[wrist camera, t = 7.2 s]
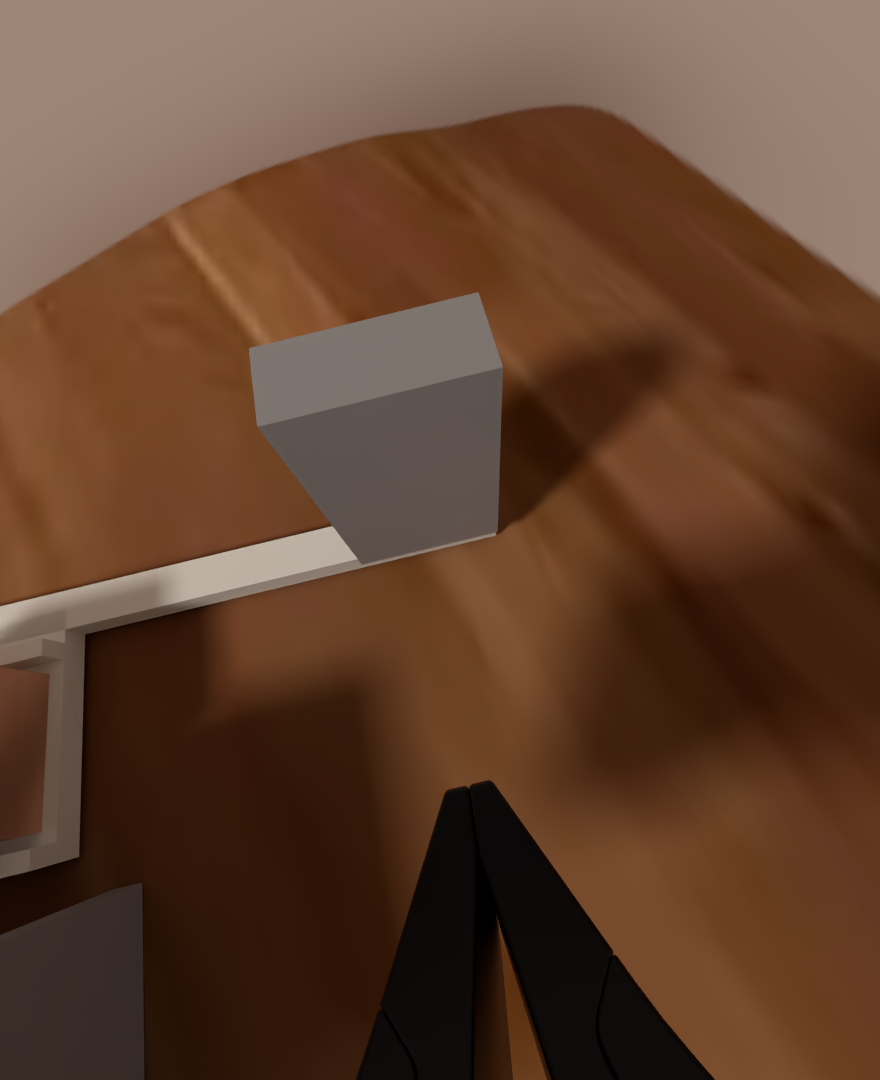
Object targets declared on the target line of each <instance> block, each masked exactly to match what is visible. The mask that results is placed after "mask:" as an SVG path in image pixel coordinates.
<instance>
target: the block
mask: <svg viewBox="0 0 880 1080" xmlns="http://www.w3.org/2000/svg"><path fill="white" fill-rule="evenodd" d="M49 679H50V674H46V673H38V672H31V671H24V670H17V669H10V668H2V667H0V842H1V841H5V840H9V839H13V838H17V837H22V836H26V835H30V834H34V833H38V832H42V817H43V797H44V778H45V758H46V738H47V718H48V699H49Z"/></svg>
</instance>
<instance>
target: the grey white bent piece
mask: <svg viewBox="0 0 880 1080" xmlns="http://www.w3.org/2000/svg"><path fill="white" fill-rule="evenodd" d="M249 356H250V365H251V374H252V383H253V392H254V401H255V410H256V419H257V427H258V428H259V430H260V431H261V432H262V434H263V435H264V436H265V438H266V439H267V440H268V442H269V443H270V444H271V446H272V447H273V448H274V450H275V451H276V452H277V453H278V455H279V456H280V457H281V459H282V460H283V461H284V463H285V464H286V465H287V467H288V468H289V469H290V471H291V472H292V473H293V475H294V476H295V477H296V479H297V480H298V481H299V482H300V484H301V485H302V486H303V488H304V489H305V490H306V492H307V493H308V494H309V496H310V497H311V498H312V500H313V501H314V502H315V504H316V505H317V506H318V508H319V509H320V510H321V511H322V513H323V514H324V515H325V517H326V518H327V519H328V521H329V522H330V523H331V525H332V526H331V527H327V528H323V529H319V530H314V531H310V532H306V533H302V534H298V535H294V536H290V537H285V538H281V539H277V540H273V541H269V542H265V543H261V544H257V545H252V546H248V547H244V548H240V549H236V550H232V551H228V552H223V553H219V554H215V555H211V556H207V557H203V558H199V559H194V560H190V561H186V562H182V563H178V564H174V565H170V566H165V567H161V568H157V569H153V570H149V571H145V572H141V573H136V574H132V575H128V576H124V577H120V578H116V579H112V580H107V581H103V582H99V583H95V584H91V585H87V586H83V587H79V588H74V589H70V590H66V591H62V592H58V593H54V594H50V595H45V596H41V597H37V598H33V599H29V600H25V601H21V602H16V603H12V604H8V605H4V606H0V667H2V668H10V669H17V670H24V671H31V672H38V673H46V674H50V679H49V699H48V718H47V738H46V758H45V778H44V797H43V817H42V832H38V833H34V834H30V835H26V836H22V837H17V838H13V839H9V840H5V841H1V842H0V878H4V877H8V876H12V875H17V874H21V873H25V872H29V871H33V870H36V869H39V868H43V867H46V866H50V865H53V864H56V863H60V862H63V861H67V860H70V859H73V858H77V857H79V842H80V806H81V769H82V732H83V696H84V659H85V634H89V633H93V632H97V631H101V630H106V629H110V628H114V627H118V626H122V625H126V624H130V623H135V622H139V621H143V620H147V619H151V618H155V617H160V616H164V615H168V614H172V613H176V612H180V611H184V610H189V609H193V608H197V607H201V606H205V605H209V604H213V603H218V602H222V601H226V600H230V599H234V598H238V597H243V596H247V595H251V594H255V593H259V592H263V591H267V590H272V589H276V588H280V587H284V586H288V585H292V584H297V583H301V582H305V581H309V580H313V579H317V578H321V577H326V576H330V575H334V574H338V573H342V572H346V571H351V570H355V569H359V568H363V567H367V566H371V565H375V564H380V563H384V562H388V561H392V560H396V559H400V558H405V557H409V556H413V555H417V554H421V553H425V552H429V551H434V550H438V549H442V548H446V547H450V546H454V545H458V544H463V543H467V542H471V541H475V540H479V539H483V538H488V537H492V536H496V532H498V507H499V475H500V443H501V411H502V379H503V366H502V363H501V360H500V357H499V354H498V351H497V348H496V345H495V342H494V339H493V335H492V332H491V329H490V326H489V323H488V320H487V317H486V314H485V311H484V308H483V305H482V302H481V299H480V296H479V293H478V292H477V293H473V294H469V295H465V296H461V297H457V298H453V299H449V300H445V301H441V302H436V303H432V304H428V305H424V306H420V307H416V308H412V309H408V310H404V311H400V312H396V313H391V314H387V315H383V316H379V317H375V318H371V319H367V320H363V321H359V322H355V323H351V324H347V325H342V326H338V327H334V328H330V329H326V330H322V331H318V332H314V333H310V334H306V335H302V336H297V337H293V338H289V339H285V340H281V341H277V342H273V343H269V344H265V345H261V346H257V347H253V348H249Z"/></svg>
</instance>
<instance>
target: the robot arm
mask: <svg viewBox="0 0 880 1080" xmlns="http://www.w3.org/2000/svg"><path fill="white" fill-rule="evenodd" d="M497 918H498V919H497ZM498 921H499V925H500V928H501V932H502V935H503V938H504V942H505V945H506V948H507V952H508V955H509V958H510V961H511V965H512V968H513V971H514V974H515V977H516V981H517V984H518V987H519V990H520V994H521V997H522V1000H523V1003H524V1007H525V1010H526V1013H527V1016H528V1020H529V1023H530V1026H531V1029H532V1032H533V1036H534V1039H535V1042H536V1045H537V1049H538V1052H539V1055H540V1058H541V1062H542V1065H543V1068H544V1071H545V1075H546V1078H547V1080H715V1079H714V1078H713V1077H712V1076H711V1075H710V1073H709V1072H708V1071H707V1070H706V1069H705V1068H704V1067H703V1065H702V1064H701V1063H700V1062H699V1061H698V1060H697V1059H696V1057H695V1056H694V1055H693V1054H692V1053H691V1051H690V1050H689V1049H688V1048H687V1047H686V1045H685V1044H684V1043H683V1042H682V1041H681V1039H680V1038H679V1037H678V1036H677V1034H676V1033H675V1032H674V1031H673V1030H672V1028H671V1027H670V1026H669V1025H668V1024H667V1022H666V1021H665V1020H664V1019H663V1018H662V1016H661V1015H660V1014H659V1012H658V1011H657V1010H656V1008H655V1007H654V1006H653V1004H652V1003H651V1002H650V1000H649V999H648V998H647V996H646V995H645V994H644V992H643V991H642V990H641V988H640V987H639V986H638V984H637V983H636V982H635V980H634V979H633V978H632V976H631V975H630V973H629V972H628V971H627V969H626V968H625V966H624V965H623V964H622V962H621V961H620V959H619V958H618V957H617V956H616V955H613V950H612V949H611V947H610V946H609V944H608V943H607V942H606V940H605V939H604V937H603V936H602V935H601V933H600V932H599V930H598V929H597V928H596V926H595V925H594V923H593V922H592V921H591V919H590V918H589V916H588V915H587V914H586V912H585V911H584V909H583V908H582V906H581V905H580V904H579V902H578V901H577V899H576V898H575V897H574V895H573V894H572V892H571V891H570V890H569V888H568V887H567V885H566V884H565V883H564V881H563V880H562V878H561V877H560V876H559V874H558V873H557V871H556V870H555V868H554V867H553V866H552V864H551V863H550V861H549V860H548V859H547V857H546V856H545V854H544V853H543V852H542V850H541V849H540V847H539V846H538V845H537V843H536V842H535V840H534V839H533V838H532V836H531V835H530V833H529V832H528V831H527V829H526V828H525V826H524V825H523V823H522V822H521V821H520V819H519V818H518V816H517V815H516V814H515V812H514V811H513V809H512V808H511V807H510V805H509V804H508V802H507V801H506V800H505V798H504V797H503V795H502V794H501V793H500V791H499V790H498V788H497V787H496V785H495V784H494V783H493V782H492V781H490V780H487V781H483V782H479V783H475V784H472V785H471V786H470V788H468V787H467V786H462V787H458V788H453V789H449V790H447V791H446V792H445V794H444V797H443V800H442V803H441V807H440V810H439V813H438V816H437V820H436V823H435V826H434V829H433V833H432V836H431V839H430V843H429V846H428V849H427V852H426V856H425V859H424V862H423V865H422V869H421V872H420V875H419V879H418V882H417V885H416V888H415V892H414V895H413V898H412V901H411V905H410V908H409V911H408V915H407V918H406V921H405V924H404V928H403V931H402V934H401V937H400V941H399V944H398V947H397V951H396V954H395V957H394V960H393V964H392V967H391V970H390V973H389V977H388V980H387V983H386V987H385V990H384V993H383V996H382V1000H381V1003H380V1007H381V1009H382V1010H379V1011H378V1012H377V1015H376V1018H375V1022H374V1025H373V1028H372V1032H371V1035H370V1038H369V1041H368V1044H367V1047H366V1050H365V1054H364V1057H363V1060H362V1063H361V1066H360V1069H359V1072H358V1075H357V1078H356V1080H513V1075H512V1064H511V1053H510V1042H509V1031H508V1020H507V1009H506V998H505V987H504V976H503V965H502V954H501V943H500V934H499V925H498Z"/></svg>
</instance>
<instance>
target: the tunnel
mask: <svg viewBox="0 0 880 1080" xmlns="http://www.w3.org/2000/svg"><path fill="white" fill-rule="evenodd" d="M0 1080H144V989H143V898H142V883H137V884H133V885H129V886H125V887H121V888H116V889H112V890H110V891H107V892H105V893H102V894H100V895H97V896H95V897H93V898H90V899H88V900H85V901H83V902H80V903H78V904H75V905H73V906H70V907H68V908H65V909H63V910H61V911H58V912H56V913H53V914H51V915H48V916H46V917H43V918H41V919H38V920H36V921H33V922H31V923H29V924H26V925H24V926H21V927H19V928H16V929H14V930H11V931H9V932H6V933H4V934H1V935H0Z"/></svg>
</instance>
